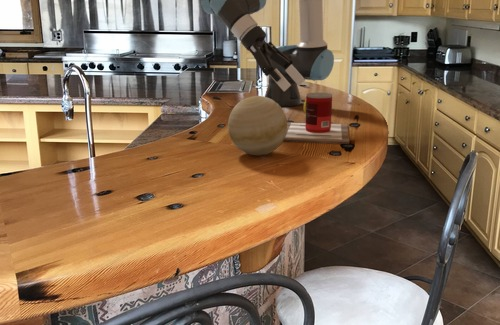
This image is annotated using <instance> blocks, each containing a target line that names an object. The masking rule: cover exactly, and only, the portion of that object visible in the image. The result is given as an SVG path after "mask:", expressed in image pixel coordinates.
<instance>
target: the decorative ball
mask: <svg viewBox="0 0 500 325" xmlns="http://www.w3.org/2000/svg"><path fill="white" fill-rule="evenodd" d="M287 122H288V120H287V116H286V113H285V112H284V109H283V108H282V106H279V104H278V103H276V102H275V101H273V100H272V99H270V98H267V97H265V96H263V95H252V96H249V97H246V98H244V99H242V100H241V101H239V102H238V103H236V104H235V106H234V107H233V108H232V110H231V111H230V113H229V117H228V121H227V128H228V135H229V138H230V140H231V141H232V143H233V144H234V145H235V146H236V147H237V149H238V150H240V151H241V152H243V153H245V154H248V155H251V156H265V155H268V154H270V153H273V151H275V150H277V149H278V148H279V147H280V146H281V145H282V143H283V140H284V138H285V136H286V133H287Z"/></svg>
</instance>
